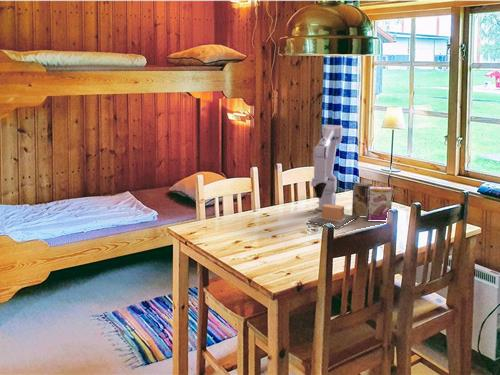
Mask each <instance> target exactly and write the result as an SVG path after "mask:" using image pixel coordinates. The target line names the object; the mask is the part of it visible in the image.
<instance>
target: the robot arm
mask: <svg viewBox="0 0 500 375" xmlns="http://www.w3.org/2000/svg"><path fill="white" fill-rule="evenodd" d="M343 132H344V127H343V125H339V124H337V125H336V124H335V125H334V124H323V125H322V129H321V135H322V137H321V138H320V139H319V141H318V144H317V145H315V146H314V147H313V150H312V156H313V164H314V165H313V166H314V167H313V178H311V182H310V186H311V187H313V189H314V191H315V196H316V198H317V199H318V206H317V207H315V210H316V209H317V210H318V211H321V210H322V206H323V205H324V204H330V205H336V197H337V196H336V192H337V188H338V187H337V186H338V178H337V177H336V175H334V174H333V172H334V167H335V166H334V165H335V160H336V154H337V153H336V152H337V148H338V145H339V144H341V143H342V140H343Z"/></svg>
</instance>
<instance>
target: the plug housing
mask: <svg viewBox="0 0 500 375" xmlns="http://www.w3.org/2000/svg"><path fill="white" fill-rule="evenodd" d="M321 214H322V218H324V219H331V220H338V221H341V220H342V219H344V214H345V206H344V205H342V206H341V205H336V204H335V205H330V204H324V205H323V206H322V211H321Z"/></svg>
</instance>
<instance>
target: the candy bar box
mask: <svg viewBox="0 0 500 375" xmlns="http://www.w3.org/2000/svg"><path fill="white" fill-rule="evenodd" d="M393 191H394V189H393V188H392V187H386V186H385V187H384V186H383V187H382V186H373V187H369V188H368V203H367V216H366V218H367V219H366V218H365V219H366V221H367V220H386V218H387V212H388V210H389V209H391V210H392V206H393V205H392V204H393V194H394V193H393Z"/></svg>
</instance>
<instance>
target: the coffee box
mask: <svg viewBox="0 0 500 375" xmlns="http://www.w3.org/2000/svg"><path fill="white" fill-rule="evenodd" d="M369 187H374V186H373V183H365V182H364V183H362V182H354V183H353V185H352V203H351V204H352V206H351V213H352V214H351V215H352V216H367V203H368V188H369Z"/></svg>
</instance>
